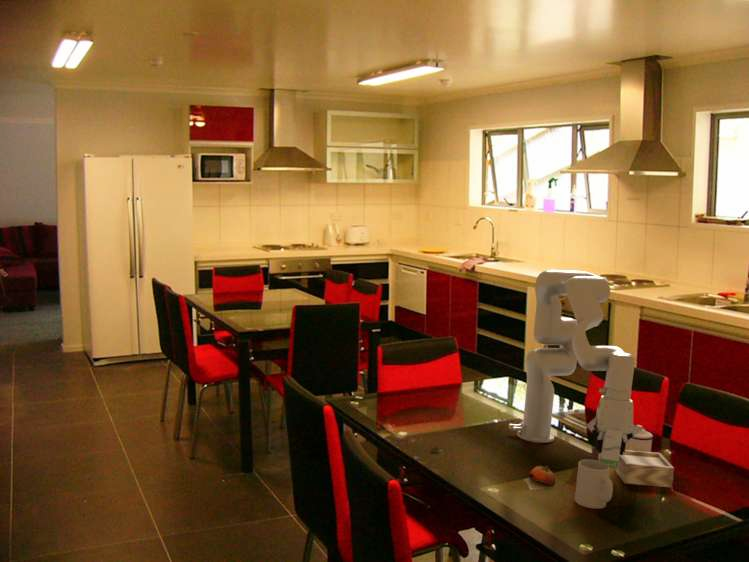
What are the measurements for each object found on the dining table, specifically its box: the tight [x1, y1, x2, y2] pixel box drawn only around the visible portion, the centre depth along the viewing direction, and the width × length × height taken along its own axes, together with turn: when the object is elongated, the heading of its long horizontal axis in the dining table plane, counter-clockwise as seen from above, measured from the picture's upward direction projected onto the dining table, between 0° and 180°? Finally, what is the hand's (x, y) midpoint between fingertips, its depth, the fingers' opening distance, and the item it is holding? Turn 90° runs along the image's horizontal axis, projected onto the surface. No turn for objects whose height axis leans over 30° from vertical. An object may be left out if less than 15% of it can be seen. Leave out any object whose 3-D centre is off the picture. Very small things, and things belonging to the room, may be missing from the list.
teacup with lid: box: [625, 424, 654, 452], centre depth 263 cm, size 12×9×12 cm
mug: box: [574, 459, 614, 510], centre depth 221 cm, size 12×8×11 cm
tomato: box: [528, 465, 557, 487], centre depth 237 cm, size 8×7×7 cm
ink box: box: [598, 428, 623, 470], centre depth 240 cm, size 9×5×12 cm, turn 169°
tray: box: [614, 450, 675, 488], centre depth 247 cm, size 14×14×6 cm
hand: (609, 451), depth 240 cm, fingers closed on ink box, 5 cm apart
